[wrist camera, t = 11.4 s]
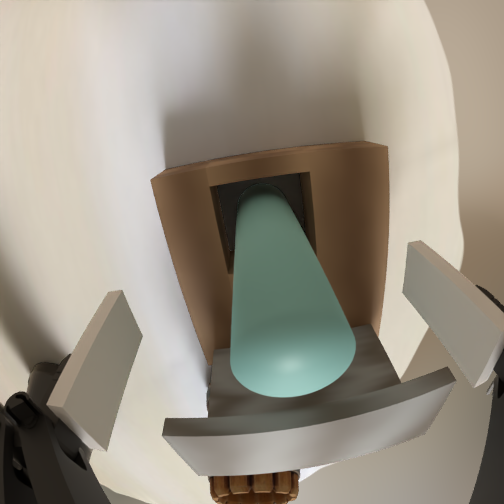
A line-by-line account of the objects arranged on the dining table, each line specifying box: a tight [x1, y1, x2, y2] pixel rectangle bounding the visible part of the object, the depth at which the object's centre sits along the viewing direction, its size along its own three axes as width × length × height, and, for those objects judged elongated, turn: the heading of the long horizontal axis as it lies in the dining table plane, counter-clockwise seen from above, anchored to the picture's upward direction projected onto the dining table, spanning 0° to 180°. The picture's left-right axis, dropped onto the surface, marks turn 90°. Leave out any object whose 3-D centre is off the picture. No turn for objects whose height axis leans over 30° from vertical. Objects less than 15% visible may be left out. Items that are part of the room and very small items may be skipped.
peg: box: [230, 183, 356, 397], centre depth 16 cm, size 4×4×16 cm
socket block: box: [151, 141, 456, 476], centre depth 18 cm, size 16×17×15 cm
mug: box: [207, 383, 300, 504], centre depth 27 cm, size 16×11×15 cm
